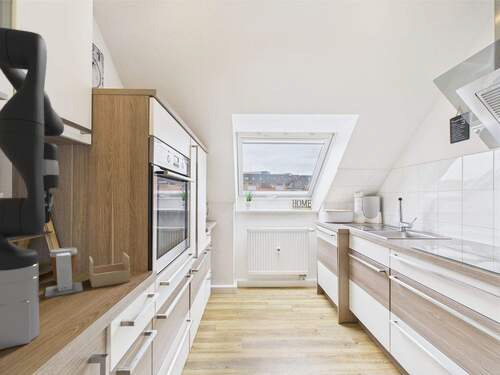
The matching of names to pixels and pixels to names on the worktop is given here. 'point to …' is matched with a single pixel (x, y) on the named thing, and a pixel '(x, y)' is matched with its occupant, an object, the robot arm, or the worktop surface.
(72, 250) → the disposable coffee cup
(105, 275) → the wooden cubby shelf
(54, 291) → the slate tile
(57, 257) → the skincare box
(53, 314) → the worktop surface
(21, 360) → the worktop surface
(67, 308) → the worktop surface
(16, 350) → the worktop surface
